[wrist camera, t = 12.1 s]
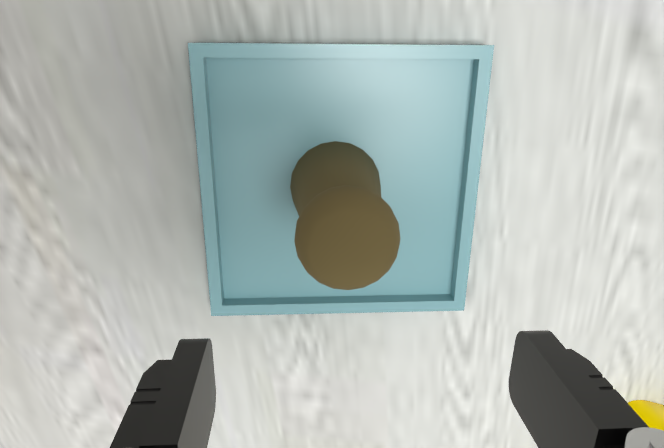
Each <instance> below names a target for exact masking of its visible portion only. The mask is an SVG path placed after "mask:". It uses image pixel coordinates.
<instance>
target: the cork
mask: <svg viewBox="0 0 664 448" xmlns="http://www.w3.org/2000/svg"><path fill="white" fill-rule="evenodd" d="M290 189H291V194H292V199H293V202H294V205H295V207H296V210H297V212H298V215H299V218H298V220H297V224H296V231H295V239H294V242H295V247H296V252H297V256H298V258H299V260H300V261H301V263H302V265H303V267H304V268H305V270H306V271H307V273H308V274H309V275H311V276H312V277H313V278H314V279H315V280H316V281H318V282H319V283H321V284H323V285H326V286H328V287H330V288H333V289H341V290H353V289H359V288H364V287H366V286H368V285H370V284H372V283H374V282H376V281H378V280H379V279H380V278H381V277H382V276H384V275H385V274H386V273H387V272H388V271H389V270H390V268H391V266H392V265H393V263H394V261H395V260H396V258H397V254H398V249H399V245H400V239H401V238H400V230H399V223H398V221H397V219H396V217H395V215H394V213H393V211H392V209H391V207H390V206H389V205H388V204H387V203H386V202H385V201H384V200H383V199H382V198H381V185H380V177H379V171H378V169H377V167H376V165H375V163H374V161H373V159H372V158H371V157H370V156H369V155H368V154H367V153H366V152H365V151H364V150H363V149H361V148H359V147H357V146H355V145H353V144H351V143H345V142H339V141H333V142H327V143H321V144H319V145H317V146H315V147H313V148H312V149H310V150H308V151H307V152H306V153H305V154H304V155H303V156H302V157H301V158H300V159H299V160H298V162H297V164H296V166H295V168H294V170H293V172H292V176H291V184H290Z"/></svg>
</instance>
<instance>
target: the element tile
mask: <svg viewBox="0 0 664 448" xmlns="http://www.w3.org/2000/svg"><path fill="white" fill-rule="evenodd" d="M628 404H629V405H630V406H631V408H632V409H633V410H634V411H635V412H636V413H637V414H638V415H639V416H640V418H641V419H642V420H643V421H644V422H645V423H646V424H647V425H648V427H649V428H655V429H660V430H663V431H664V405H661V404H657V403H654V402H650V401H644V400H636V401H631V402H628Z"/></svg>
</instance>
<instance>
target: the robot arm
mask: <svg viewBox="0 0 664 448" xmlns="http://www.w3.org/2000/svg"><path fill="white" fill-rule="evenodd" d="M509 392H510V397H511V400H512V403H513V405H514V407H515V408H516V410H517V412H518V413H519V415H520V417H521V419H522V420H523V422H524V424H525V425H526V427H527V429H528V431H529V432H530V434H531V436H532V437H533V439H534V441H535V443H536V444H537V446H538V448H664V431H663V430H660V429H655V428H649V427H648V425H647V424H646V423H645V422H644V421H643V420H642V419H641V418H640V416H639V415H638V414H637V413H636V412H635V411H634V410H633V409H632V408H631V406H630V405H629V404H628V403H627V402H626V401H625V400H624V399H623V397H622V396H621V395H620V394H619V393H618V392H617V391H616V390H615V389H613V386H612V385H611V384H610V383H609V382H608V381H607V380H606V378H603V377H602V374H601V373H600V372H599V371H598V369H597V368H596V367H595V366H594V365H593V364H592V363H591V362H590V361H589V360H588V359H586V358H584V357H583V356H581V355H580V354H578V353H577V352H575V351H574V350H572V349H565V347H564V346H563V345H562V344H561V343H560V341H559V340H558V339H557V338H556V337H555V336H554V334H553V333H552V332H550V331H520V332H519V333H518V334H517V336H516V340H515V346H514V352H513V358H512V364H511V370H510V376H509ZM215 402H216V387H215V376H214V364H213V352H212V343H211V340H210V339H181V340H180V341H179V343H178V345H177V348H176V350H175V353H174V356H173V358H172V360H157V361H156V362H155V363H154V364H153V365H152V366H151V367H150V368H149V369H148V370H147V371H146V372H144V373H143V375H142V378H141V380H140V382H139V384H138V386H137V389H136V392H135V393H134V395H133V397H132V400H131V404H130V405H129V406H128V408H127V411H126V413H125V415H124V417H123V420H122V422H121V424H120V426H119V428H118V431H117V433H116V435H115V437H114V439H113V442H112V444H111V446H110V448H207V445H208V440H209V435H210V431H211V426H212V422H213V417H214V412H215Z"/></svg>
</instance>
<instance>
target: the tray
mask: <svg viewBox="0 0 664 448" xmlns="http://www.w3.org/2000/svg"><path fill="white" fill-rule="evenodd" d="M188 50H189V62H190V73H191V85H192V97H193V108H194V120H195V131H196V143H197V155H198V166H199V178H200V189H201V201H202V213H203V224H204V236H205V247H206V259H207V271H208V282H209V294H210V305H211V316H229V315H275V314H321V313H367V312H413V311H459V310H464V306H465V297H466V288H467V280H468V271H469V262H470V253H471V244H472V235H473V227H474V218H475V209H476V200H477V191H478V183H479V174H480V165H481V156H482V147H483V138H484V130H485V121H486V112H487V103H488V94H489V85H490V77H491V68H492V59H493V50H494V45H427V44H303V43H188ZM333 141H339V142H345V143H351V144H353V145H355V146H357V147H359V148H361V149H363V150H364V151H365V152H366V153H367V154H368V155H369V156H370V157H371V158H372V159H373V161H374V163H375V165H376V167H377V169H378V171H379V177H380V185H381V198H382V199H383V200H384V201H385V202H386V203H387V204H388V205H389V206H390V207H391V209H392V211H393V213H394V215H395V217H396V219H397V221H398V223H399V230H400V238H401V239H400V245H399V249H398V254H397V258H396V260H395V261H394V263H393V265H392V266H391V268H390V270H389V271H388V272H387V273H386V274H385V275H384V276H382V277H381V278H380V279H379V280H378V281H376V282H374V283H372V284H370V285H368V286H366V287H364V288H359V289H353V290H341V289H333V288H330V287H328V286H326V285H323V284H321V283H319V282H318V281H316V280H315V279H314V278H313V277H312V276H311V275H309V274H308V273H307V271H306V270H305V268H304V267H303V265H302V263H301V261H300V260H299V258H298V256H297V252H296V247H295V242H294V239H295V231H296V224H297V220H298V218H299V215H298V212H297V210H296V207H295V205H294V202H293V199H292V194H291V189H290V184H291V176H292V172H293V170H294V168H295V166H296V164H297V162H298V160H299V159H300V158H301V157H302V156H303V155H304V154H305V153H306V152H307V151H308V150H310V149H312V148H313V147H315V146H317V145H319V144H321V143H327V142H333Z"/></svg>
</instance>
